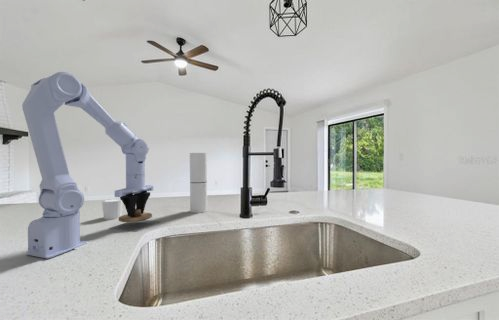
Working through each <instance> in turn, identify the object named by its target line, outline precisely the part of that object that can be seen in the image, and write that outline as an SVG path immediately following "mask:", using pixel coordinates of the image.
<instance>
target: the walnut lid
mask: <svg viewBox="0 0 499 320" xmlns="http://www.w3.org/2000/svg"><path fill="white" fill-rule="evenodd" d="M151 218H153V214H152V213H151V212H145V211H144V212H143V214H141V209H136V208H135V216H134V217H130V216H128V214H122V216H120V217H119V218H118V221H119V222H122V223H126V222H137V221H143V220H149V219H151Z"/></svg>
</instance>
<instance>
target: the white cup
mask: <svg viewBox="0 0 499 320" xmlns="http://www.w3.org/2000/svg"><path fill="white" fill-rule="evenodd" d="M101 205H102V213H103V219H104V220H107V221H108V220H116V219H119V217H120V216H123V214H122V213H123V205H124V203H123V202H122V200H121V199H120V198H111V199H110V198H109V199H105V200H102V201H101Z"/></svg>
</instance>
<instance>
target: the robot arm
mask: <svg viewBox="0 0 499 320" xmlns="http://www.w3.org/2000/svg"><path fill="white" fill-rule="evenodd" d="M30 86H31V87H30V90H29V91H28V93H27V95H26V97H25V98H24V100H23V102H22V104H21V106H22V107H21V108H22V111H23V115H24V119H25V122H26V126H27V129H28V133H29V136H30V139H31V144H32V147H33V151H34V155H35V158H36V162H37V165H38V168H39V171H40V176H41V181H40V183H39V190H40V194H39V195H38V204H39V205H40V207H41V208H43V212H42V216H41V217H39V218H37V219H36V218H35V219H33V220H31V222H30V223H29V225H28V226H27V251H26V253H25V255H27V256H32V257H37V258H42V259H43V258H44V259H46V260H47V259H52V258H54V257H57V256H59V255H61V254H64V253H68V252H69V251H72V250H74V249H77V248H79V247H81V246H85V245H88V244H89V241H86V240H81V223H80V222H81V218H80V216H81V214H80V209H81V208H82V207H83V205H84V203H85V196H84V194H83V192H82V191H81V190H80V189H79V188H78V186H77V182H76V181H75V179H74V178H73V177H72V176H71V174H70V173H69V172H70V171H69V168H68V164H67V159H66V155H65V152H64V148H63V144H62V141H61V137H60V133H59V128H58V124H57V120H56V116H55V113H56V111H57V110H58V109H60V108H61V107H62V106H63V105H65V106H67V107H68V106H69V107H75V108H78V109H79V108H80V109H81V110H83V111H84V113H85V112H86V114H87V115H89V116H90V117H91V118H93V119H94V120H95V121H96V122H97V123H99V124H100V125H102V126H103V127H104V131H105V134H106V135H107V136H108V137H109V138H110V139H111V140H112V141H114V143H116V144H117V145H118V146H119V147H120V148H121V149H120V150H121V152H122V154H123V155H125V187H124V188H120V189H117V190H116V189H115V190H114V197H115V198H119V199H121V200H122V202H123V206H124V207H125V210H126V213H127V214H128V216H130V217H134V216H135V209H141V214H143V212H145V208H146V204H147V202H148V200H149V197H150V196H151V192H152V191H154V184H152V185H151V184H148V185H146V172H145V171H146V168H145V167H146V158H147V157H146V156H147V154H148V152H149V149H150V147H148V144H147V143H146V141H145V140H144V139H140V138H138V135H137V134H135V133H134V132H132V131H131V129H129V128H128V125H127V123H126V122H122V121H119V120H115V119H114V117H112V116H111V115H110V113H108V111H106V109H105V108H104V107H103V106H102V105H101V104H100V103H99V102H98V101H97V99H95V98H94V96H93V95H92V94H91V93H90V91H89V89H88V87H87V86H86V85H85V84H83V83H81V81H80V80H79V78H77V76H75V75H74V74H73V73H69V72H66V71H58V72H55V73H53V74H52V75H49V76H48V77H43V78H41V79H39V80H37V81H35V82H34V83H33V84H30Z"/></svg>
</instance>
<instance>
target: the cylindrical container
mask: <svg viewBox="0 0 499 320" xmlns="http://www.w3.org/2000/svg"><path fill="white" fill-rule="evenodd" d="M207 158H208V155H207V152H189V207H190V208H189V212H190V213H197V214H202V212H204V213H206V211H207V212H208V162H207V161H208V159H207Z"/></svg>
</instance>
